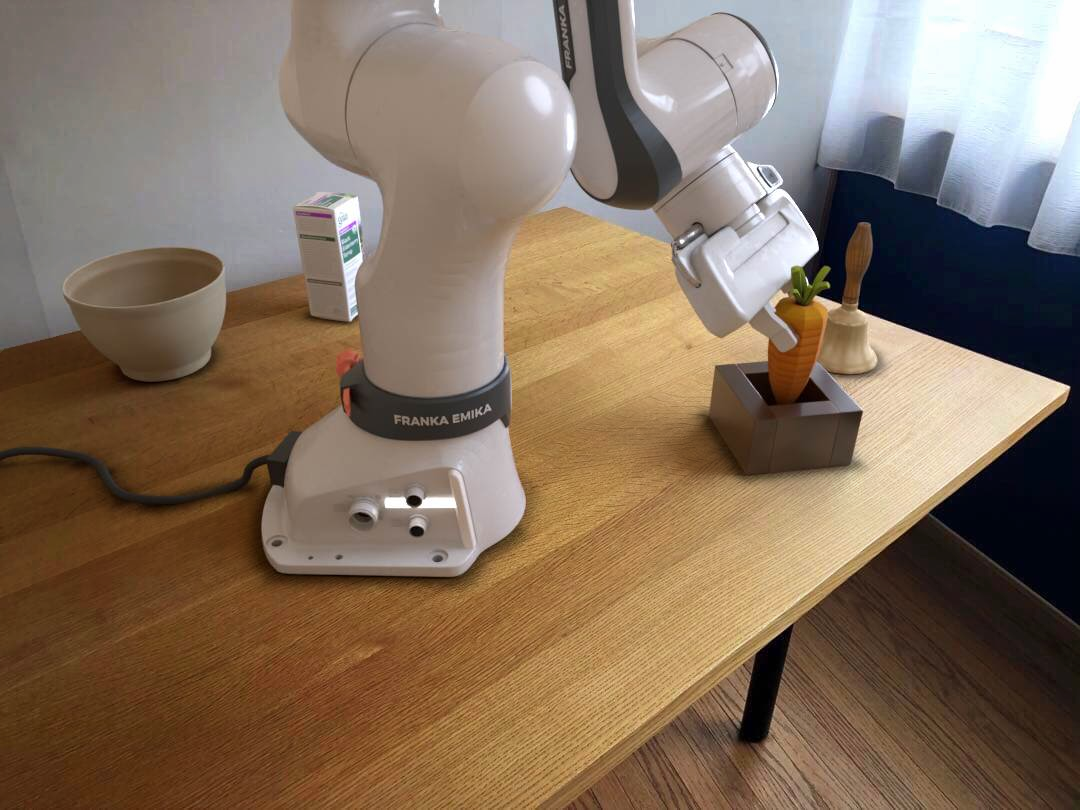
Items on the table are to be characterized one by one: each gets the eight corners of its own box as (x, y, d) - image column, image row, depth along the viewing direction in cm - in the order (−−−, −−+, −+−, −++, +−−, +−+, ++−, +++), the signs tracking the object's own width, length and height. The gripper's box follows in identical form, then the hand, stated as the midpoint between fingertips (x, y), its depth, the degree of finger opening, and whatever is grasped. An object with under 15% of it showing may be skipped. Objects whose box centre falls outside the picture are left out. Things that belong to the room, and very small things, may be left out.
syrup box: (350, 323, 106) (336, 209, 99) (308, 316, 108) (291, 203, 100) (372, 304, 111) (360, 194, 103) (331, 298, 112) (316, 189, 105)
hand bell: (822, 378, 95) (850, 240, 87) (790, 343, 102) (812, 213, 94) (891, 371, 96) (925, 235, 88) (854, 337, 103) (882, 209, 95)
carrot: (805, 397, 85) (832, 253, 77) (814, 424, 81) (843, 276, 73) (754, 394, 85) (776, 251, 77) (760, 421, 81) (783, 273, 73)
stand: (745, 475, 79) (754, 420, 76) (708, 416, 88) (714, 364, 85) (850, 464, 81) (863, 410, 78) (803, 407, 90) (813, 356, 87)
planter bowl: (56, 389, 92) (25, 296, 87) (148, 324, 106) (126, 240, 100) (189, 408, 89) (166, 313, 83) (267, 339, 102) (251, 253, 97)
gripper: (691, 224, 68) (792, 365, 69) (780, 161, 83) (863, 278, 83) (637, 265, 72) (733, 397, 73) (730, 199, 87) (810, 309, 88)
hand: (803, 333), depth 78 cm, fingers closed on carrot, 4 cm apart
